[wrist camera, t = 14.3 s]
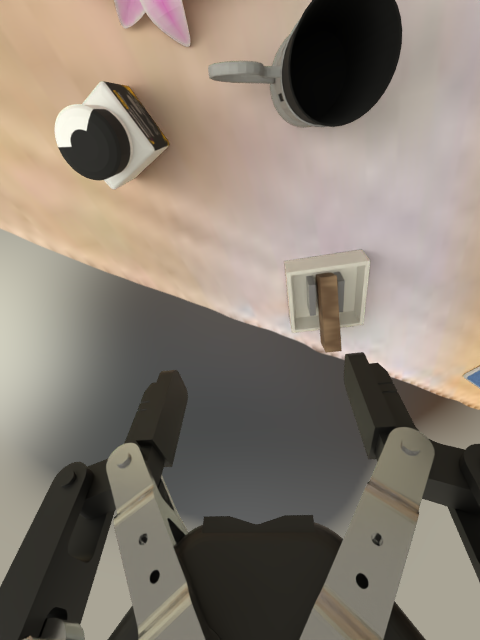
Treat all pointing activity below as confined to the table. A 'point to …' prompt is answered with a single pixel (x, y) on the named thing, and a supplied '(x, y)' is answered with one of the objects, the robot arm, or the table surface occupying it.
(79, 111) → the medicine bottle
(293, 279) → the plank slot holder tray
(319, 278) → the wooden plank piece
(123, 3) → the lily
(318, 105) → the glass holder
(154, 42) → the table surface
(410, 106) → the table surface
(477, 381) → the blue notebook
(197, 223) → the table surface
